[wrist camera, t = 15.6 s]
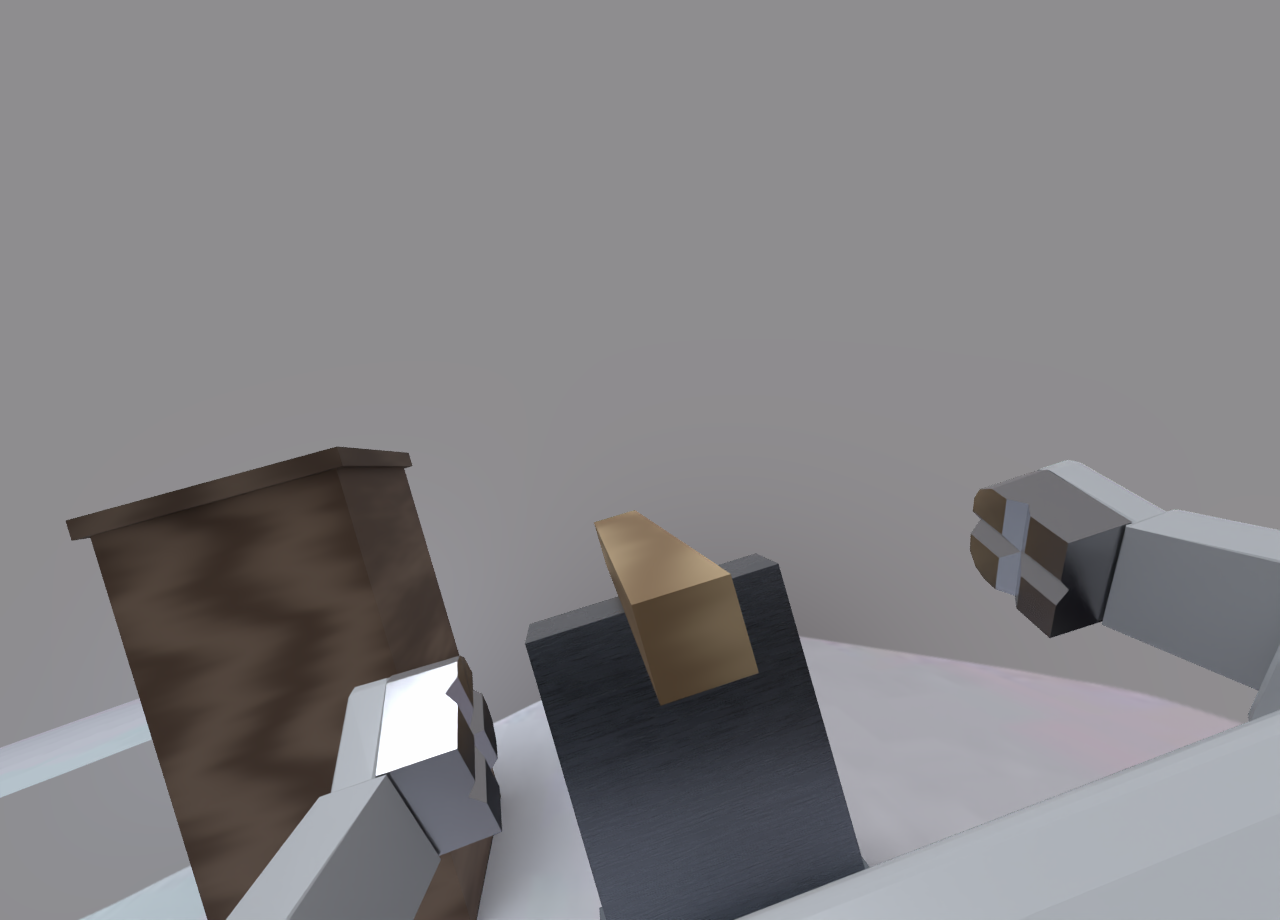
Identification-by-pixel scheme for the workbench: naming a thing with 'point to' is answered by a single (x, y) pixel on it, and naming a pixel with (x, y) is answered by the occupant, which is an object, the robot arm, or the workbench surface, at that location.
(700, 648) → the oak rod
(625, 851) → the grey bracket
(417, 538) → the walnut stand
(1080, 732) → the workbench surface
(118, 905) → the workbench surface
